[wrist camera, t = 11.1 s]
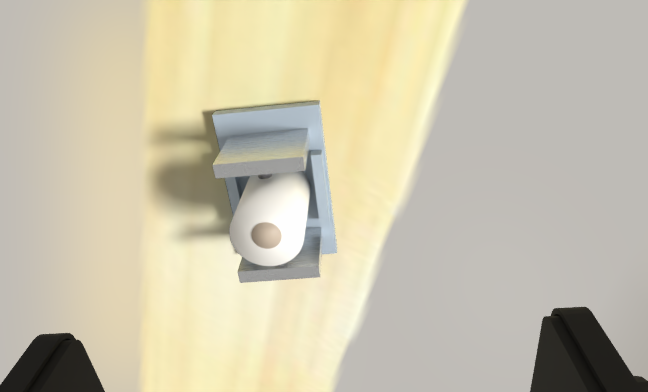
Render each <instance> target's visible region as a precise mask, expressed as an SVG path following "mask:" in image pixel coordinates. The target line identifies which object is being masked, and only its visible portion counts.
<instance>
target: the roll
mask: <svg viewBox="0 0 648 392" xmlns="http://www.w3.org/2000/svg"><path fill="white" fill-rule="evenodd" d="M310 190H311V189H310V182H309V179H308V177H307V175H306V174H305V173H304V171H296V172H285V173H274V174H272V177H270V178H268V179H259V178H258V175H251V176H250V177H249V179H248V182H247V184H246V187H245V189H244V192H243V194H242V196H241V199H240V201H239V204H238V206H237V209H236V211H235V214H234V216H233V219H232V221H231V224H230V229H229V235H230V240H231V243H232V245H233V247H234V248H235V250H236V251H237V252H238V253H239V254H240V255H241V256H242V257H243V258H245V259H246V260H248V261H250V262H252V263H255V264H258V265H262V266H277V265H281V264H284V263H286V262H288V261H290V260H292V259H293V258H294V257H295V256H296V255H297V254H298V253H299V252H300V250H301V248H302V246H303V242H304V236H305V228H306V221H307V214H308V206H309V199H310Z"/></svg>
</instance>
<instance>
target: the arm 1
mask: <svg viewBox="0 0 648 392" xmlns="http://www.w3.org/2000/svg"><path fill="white" fill-rule="evenodd" d="M309 144H310V136H309V128H304V129H294V130H283V131H273V132H262V133H252V134H241V135H231V136H229V138H228V139H227V141H226V143H225V144H224V146H223V148H222V149H221V151H220V153H219V154H218V156H217V158H216V160H215V161H214V163H213V165H212V166H213V170H214V174H215V178H216V179H217V178H228V177H240V176H251V175H258V178H259V179H268V178H270V177H272V174H274V173H285V172H296V171H305V168H306V162H307V156H308V150H309Z"/></svg>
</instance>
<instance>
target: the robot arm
mask: <svg viewBox="0 0 648 392" xmlns="http://www.w3.org/2000/svg"><path fill="white" fill-rule="evenodd" d="M0 392H105V391H104V389H103V387H102V385H101V382H100V380H99V378H98V376H97V374H96V372H95V370H94V368H93V366H92V363H91V361H90V359H89V357H88V355H87V353H86V350H85V348H84V346H83V344H82V343H81V341H79V340H76V339H75V338H74V336H73V335H72V334H70V333H59V334H42V335H39V336H37V337H36V338H35V339H34V340H33V341H32V343H31V344H30V345H29V347H28V348H27V349H26V351H25V352H24V354H23V355H22V356H21V358H20V359H19V360H18V362H17V363H16V365H15V366H14V367H13V368H12V370H11V371H10V373H9V374H8V375H7V377H6V378H5V379H4V381H3V382H2V384H1V385H0ZM530 392H648V381H647V380H645V379H644V378H643V377H639V376H633V375H632V373H631V372H630V371H629V369H628V367H627V366H626V364H625V363H624V361H623V360H622V358H621V356H620V355H619V353H618V352H617V350H616V349H615V347H614V346H613V344H612V343H611V341H610V340H609V338H608V337H607V335H606V334H605V332H604V330H603V329H602V327H601V326H600V324H599V323H598V321H597V320H596V318H595V317H594V315H593V313H592V312H591V311H590V310H589V309H588V308H587V307H573V308H555V309H553V311H552V314H551V316H548V317H547V316H546V317H544V318H543V321H542V326H541V333H540V338H539V344H538V349H537V355H536V361H535V367H534V373H533V379H532V385H531V391H530Z"/></svg>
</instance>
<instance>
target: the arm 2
mask: <svg viewBox="0 0 648 392" xmlns="http://www.w3.org/2000/svg"><path fill="white" fill-rule="evenodd" d="M322 242H323V234H322V227H313V228H305V236H304V242H303V246H302V248H301V250H300V252H299V253H298V254H297V255H296V256H295V257H294V258H293V259H292V260H290V261H288V262H286V263H284V264H281V265H277V266H262V265H258V264H255V263H252V262H250V261H248V260H246V259H245V258H243V257H242V260H241V263H240V266H239V269H238V276H239V280H240V283H243V282H257V281H272V280H286V279H300V278H315V277H320V272H321V257H322Z"/></svg>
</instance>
